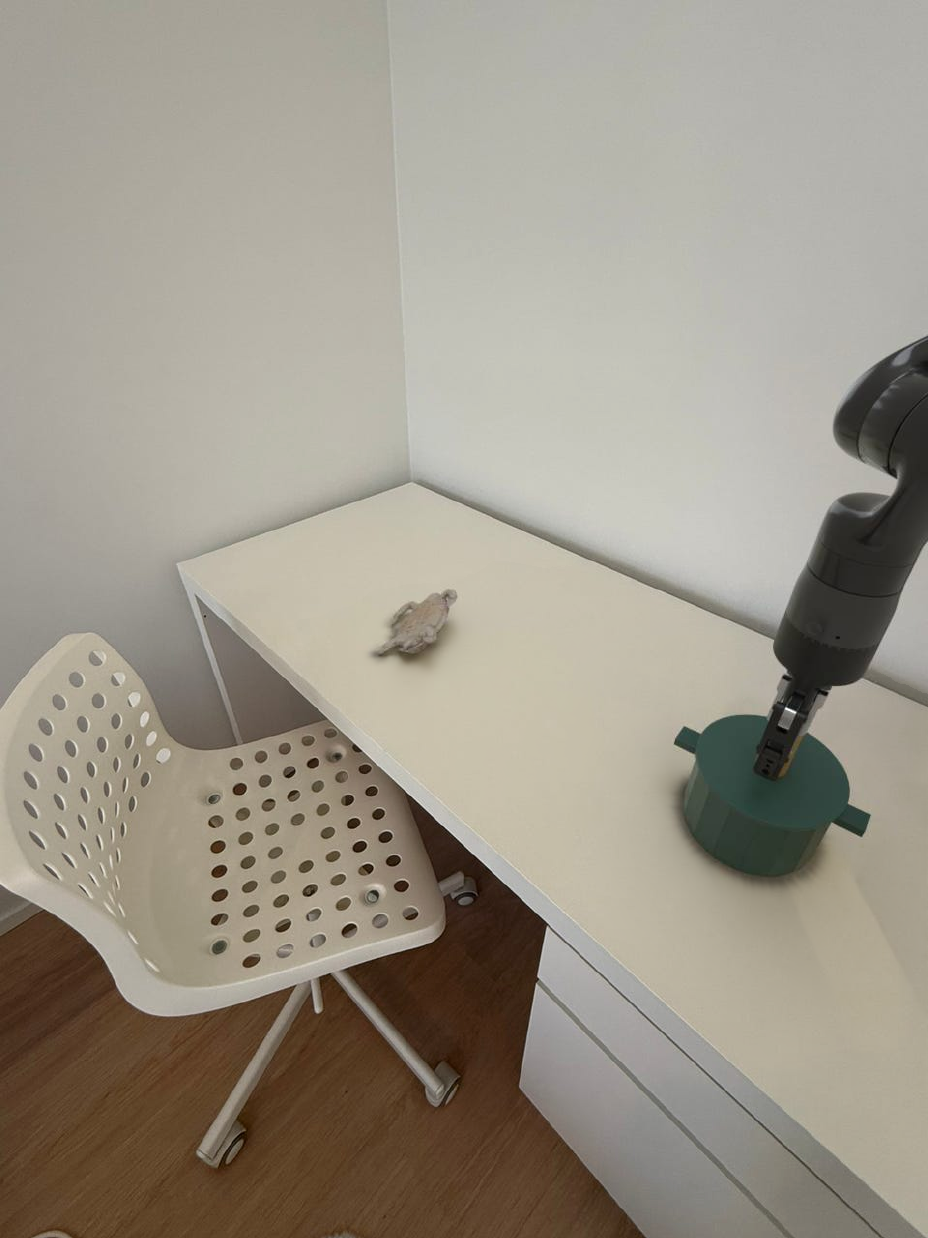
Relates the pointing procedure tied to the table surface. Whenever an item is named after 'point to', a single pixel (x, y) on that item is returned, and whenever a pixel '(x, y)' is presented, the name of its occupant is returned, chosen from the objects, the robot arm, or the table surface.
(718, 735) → the lid
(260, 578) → the table surface
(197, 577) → the table surface
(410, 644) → the turtle
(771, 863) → the green cooking pot
